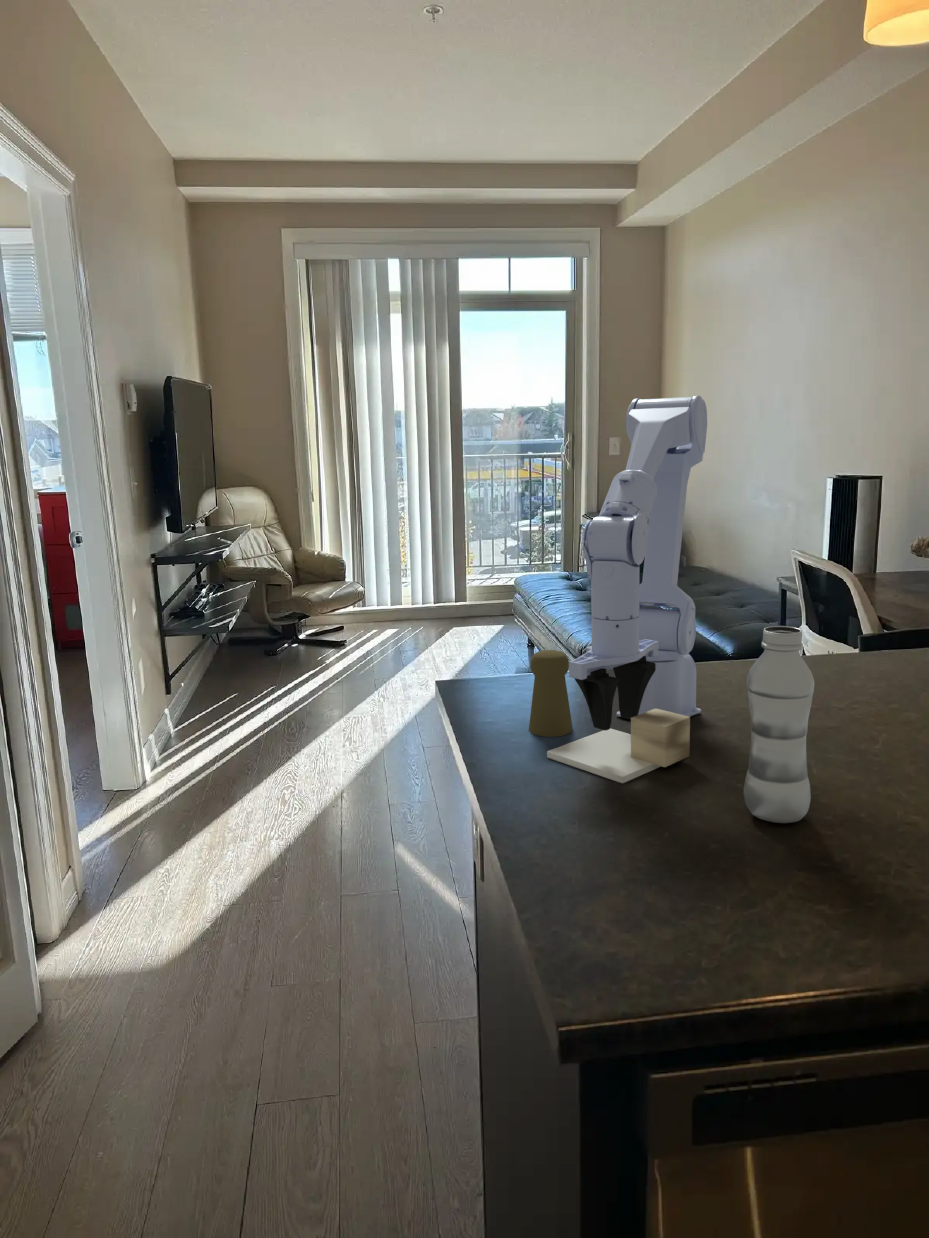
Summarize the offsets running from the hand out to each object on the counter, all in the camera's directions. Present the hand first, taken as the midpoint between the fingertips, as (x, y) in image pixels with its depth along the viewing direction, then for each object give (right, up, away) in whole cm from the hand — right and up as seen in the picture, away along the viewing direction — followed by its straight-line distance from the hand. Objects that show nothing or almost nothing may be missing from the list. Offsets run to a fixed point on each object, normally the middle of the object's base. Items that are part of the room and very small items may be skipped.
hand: (615, 723), depth 110 cm
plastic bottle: (+14, -8, -17) cm, 24 cm away
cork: (-7, -2, +12) cm, 14 cm away
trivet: (0, -4, +1) cm, 4 cm away
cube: (+5, -4, -2) cm, 7 cm away
